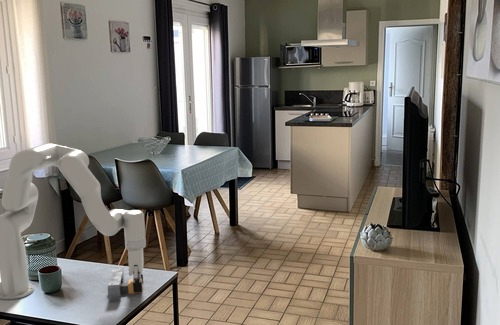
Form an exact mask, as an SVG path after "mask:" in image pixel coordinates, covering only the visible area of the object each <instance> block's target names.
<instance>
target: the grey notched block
mask: <svg viewBox="0 0 500 325" xmlns="http://www.w3.org/2000/svg"><path fill="white" fill-rule="evenodd" d="M124 270H125V268H124V267H116V268H115V267H113V268H112V270H111V273H110V277H109V280H108V284H107V294H108V293H109V295H108V302H109V303H117V302H121V301H122V297H123V294H122V290H121V283H126V282H125V272H124Z"/></svg>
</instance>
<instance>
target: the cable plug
mask: <svg viewBox="0 0 500 325" xmlns="http://www.w3.org/2000/svg"><path fill="white" fill-rule="evenodd" d="M141 281H142V278H141ZM143 285H144V282H143V283H142V292H137V293H136V294H140V293H142V294H143V291H144V290H143V289H144V288H143ZM121 290H122V295H123V294H131V295H132V294H135V293H134V291H133V278H131V279H128V282H125V283H121ZM107 294H108V296H109V293H108V292H107Z"/></svg>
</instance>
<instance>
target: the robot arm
mask: <svg viewBox="0 0 500 325" xmlns="http://www.w3.org/2000/svg"><path fill="white" fill-rule="evenodd" d="M89 165H90V158H89V156H88V154H86V153H85V152H84V151H83V150H80V149H77V148H74V147H68V146H65V145H60V144H55V143H44V144H43V143H42V144H40V145H37V146H34V147H30V148H26V149H22V150H20V151H18V152H16V153H15V154H14V155H13V156H12V158H11V159H10V162H9V166H8V171H7V176H6V178H5V183H4V186H3V191H2V195H1V205H2V207H3V209H5V210H6V211H5V212H4V213H2V214H0V300H8V301H9V300H16V299H21V298H23V297H27V296H29V295H30V294H32V293H34V291H35V286H34V284H32V283H30V280H29V270H28V261H27V253H26V246H25V242H24V239H23V237H22V233H23V232H24V231H25V230H27V229H28V228H29V227H30V226H31V224H32V222H33V220H34V218H35V217H34V216H35V212H36V209H37V205H38V201H39V190H38V187H37V186H36V185H35V183H33V182H32V181H33V179H34V178H33V172H34V171H41V170H44V169H47V168H49V167H56V168H58V170H59V171H60V173H61V175H62V176H63V177H64V178H65V180H66V181H67V182H68V183H69V185H70V186H71V188H72V189H73V190H74V191H75V193H76V194H77V195H78V196H79V198H80V201H81V204H82V206H83V209H84V211H85V214H86V216H87V217H88V220H89V221H90V222H91V223H92V225H93V226H94V227H95V228H96V230H97V231H99V233H101V234H102V235H103V236H105V237H111V236H115V235H116V234H117V233H118V232H119V231H120V230H121V229H124V230H123V231H124V234H123V235H124V246H125V247H124V248H125V250H127V251H128V253H127V254H128V260H127V261H128V275H129V277H131V276H132V279H133V291H134V293H133V294H138V293H137V292H142V293H143V290H142V283H143V284H144V274H143V273H144V272H143V271H144V260H145V259H144V249H145V248H146V247H147V240H146V239H147V238H146V226H145V225H146V224H145V214H144V212H143V211H142V210H141V209H131V210H127V209H120V208H119V209H118V208H113V209H110V210H109V209H107V207H106V205H105V204H104V202H103V199H102V192H101V191H102V190H101V188H102V186H101V183H100V182H99V180H98V179H97V178H96V177H95V175H94V174H93V173H92V171H91V170H90V169H89V167H88V166H89ZM141 278H142V281H141Z"/></svg>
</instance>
